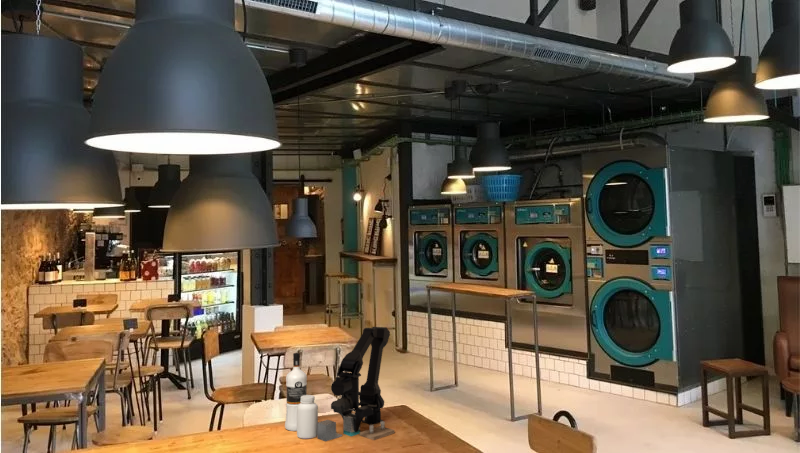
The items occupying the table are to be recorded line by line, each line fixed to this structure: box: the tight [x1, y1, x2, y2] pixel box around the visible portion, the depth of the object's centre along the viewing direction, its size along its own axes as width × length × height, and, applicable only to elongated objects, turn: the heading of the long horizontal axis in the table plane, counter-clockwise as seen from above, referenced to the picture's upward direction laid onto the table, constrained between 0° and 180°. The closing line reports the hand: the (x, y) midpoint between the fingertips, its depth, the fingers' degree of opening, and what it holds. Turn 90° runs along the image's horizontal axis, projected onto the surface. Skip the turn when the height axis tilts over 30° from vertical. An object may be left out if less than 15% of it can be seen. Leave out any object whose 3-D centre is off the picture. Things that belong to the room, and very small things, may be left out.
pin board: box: [359, 420, 395, 441], centre depth 218 cm, size 8×11×4 cm
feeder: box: [316, 419, 343, 442], centre depth 215 cm, size 5×8×6 cm, turn 137°
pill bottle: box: [296, 394, 319, 439], centre depth 218 cm, size 8×8×15 cm
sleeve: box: [342, 412, 361, 437], centre depth 219 cm, size 5×5×7 cm
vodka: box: [284, 352, 308, 432], centre depth 228 cm, size 9×9×30 cm
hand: (351, 430), depth 219 cm, fingers closed on sleeve, 5 cm apart
